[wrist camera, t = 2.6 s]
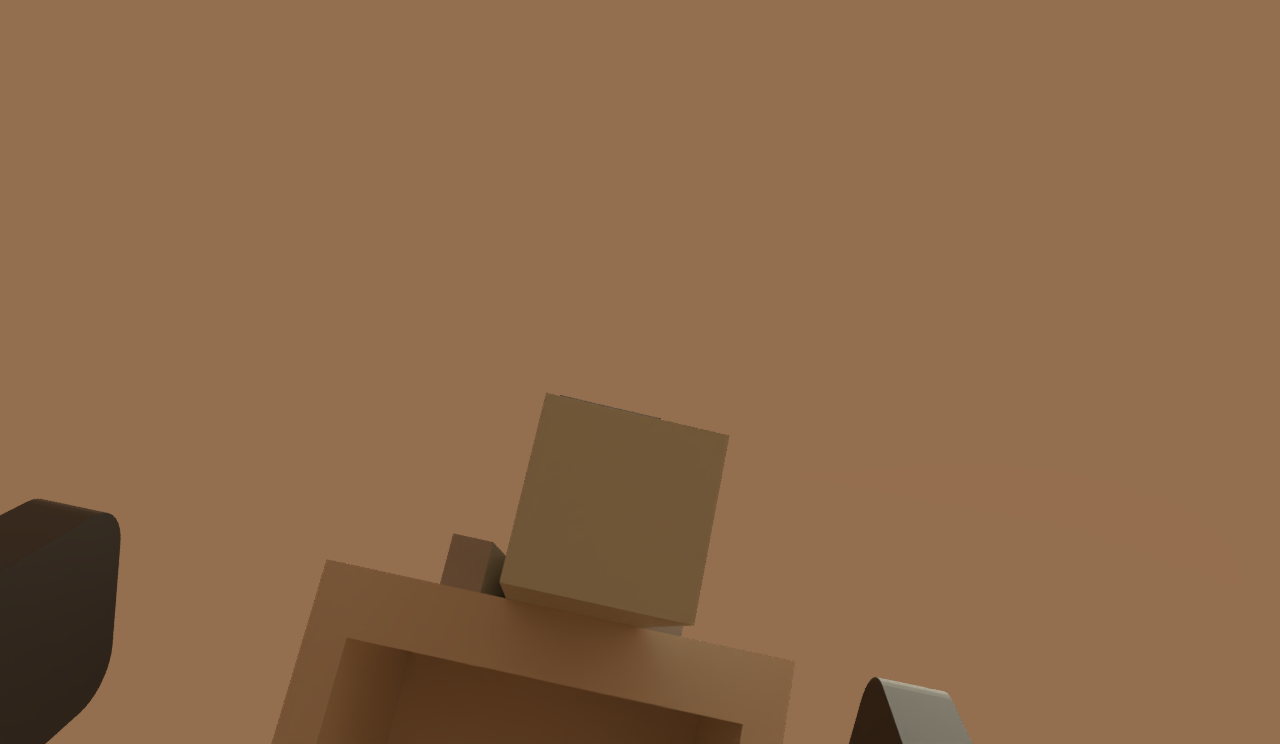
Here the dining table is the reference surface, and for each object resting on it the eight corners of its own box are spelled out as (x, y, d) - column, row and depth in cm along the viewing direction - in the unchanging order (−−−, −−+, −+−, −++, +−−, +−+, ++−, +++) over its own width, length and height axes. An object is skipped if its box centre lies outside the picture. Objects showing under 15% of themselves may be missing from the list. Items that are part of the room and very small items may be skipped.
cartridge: (693, 625, 19) (761, 265, 22) (499, 582, 19) (587, 223, 21) (607, 629, 38) (647, 438, 41) (510, 607, 38) (556, 417, 40)
